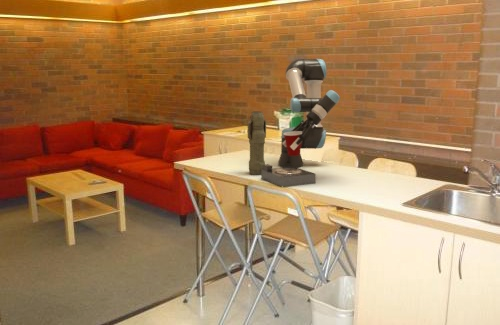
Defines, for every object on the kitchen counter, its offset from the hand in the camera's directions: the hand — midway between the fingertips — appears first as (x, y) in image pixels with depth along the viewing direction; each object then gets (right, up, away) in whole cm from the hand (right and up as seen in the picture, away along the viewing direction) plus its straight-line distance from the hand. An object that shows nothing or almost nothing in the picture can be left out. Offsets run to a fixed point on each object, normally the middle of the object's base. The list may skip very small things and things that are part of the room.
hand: (287, 146), depth 252 cm
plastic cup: (+3, -4, +2) cm, 6 cm away
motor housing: (0, -18, +6) cm, 19 cm away
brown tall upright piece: (-16, -14, +24) cm, 32 cm away
